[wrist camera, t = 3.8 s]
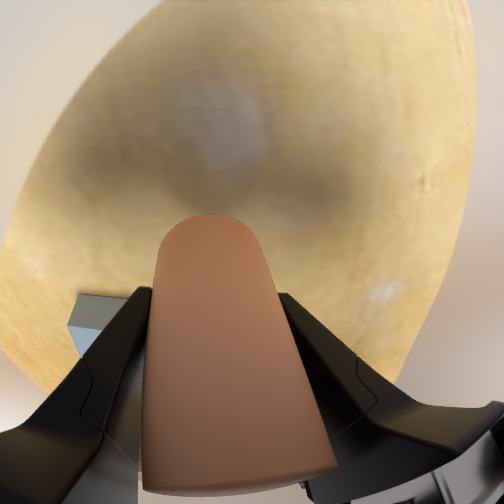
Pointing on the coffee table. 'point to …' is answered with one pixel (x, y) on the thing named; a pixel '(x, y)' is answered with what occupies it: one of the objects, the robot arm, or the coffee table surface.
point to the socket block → (91, 318)
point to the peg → (223, 372)
